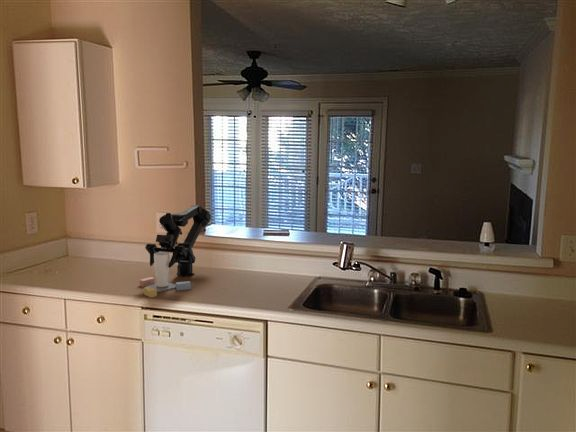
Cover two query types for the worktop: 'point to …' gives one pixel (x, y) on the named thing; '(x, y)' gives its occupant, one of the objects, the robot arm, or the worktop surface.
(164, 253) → the drinking glass
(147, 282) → the brick terracotta
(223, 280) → the worktop surface
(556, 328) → the worktop surface
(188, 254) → the robot arm
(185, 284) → the brick slate blue
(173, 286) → the slate coaster
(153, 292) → the brick mustard
